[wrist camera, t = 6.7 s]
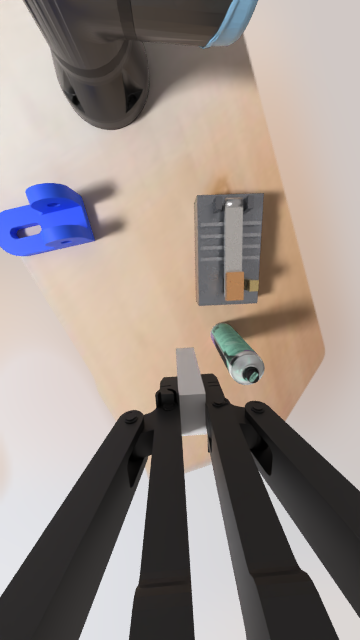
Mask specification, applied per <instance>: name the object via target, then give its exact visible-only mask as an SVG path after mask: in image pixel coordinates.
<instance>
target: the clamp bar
mask: <svg viewBox="0 0 360 640" xmlns="http://www.w3.org/2000/svg"><path fill="white" fill-rule="evenodd" d="M242 232H243V198H225V201H224V297H225V300H226V301H235V300H244V272H242Z"/></svg>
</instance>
